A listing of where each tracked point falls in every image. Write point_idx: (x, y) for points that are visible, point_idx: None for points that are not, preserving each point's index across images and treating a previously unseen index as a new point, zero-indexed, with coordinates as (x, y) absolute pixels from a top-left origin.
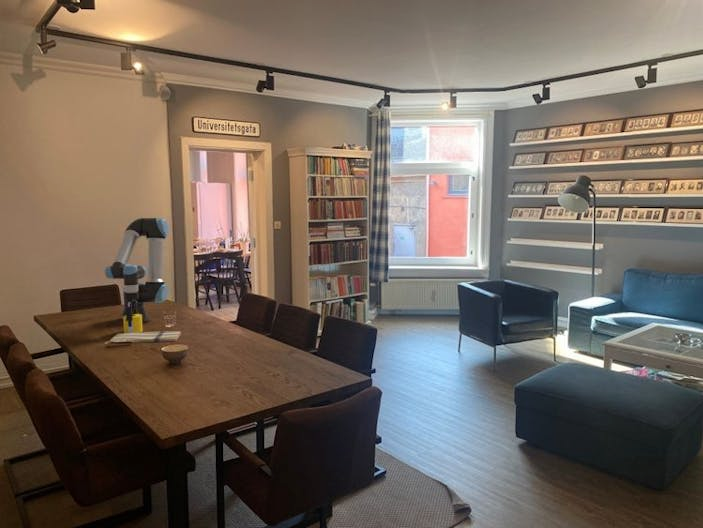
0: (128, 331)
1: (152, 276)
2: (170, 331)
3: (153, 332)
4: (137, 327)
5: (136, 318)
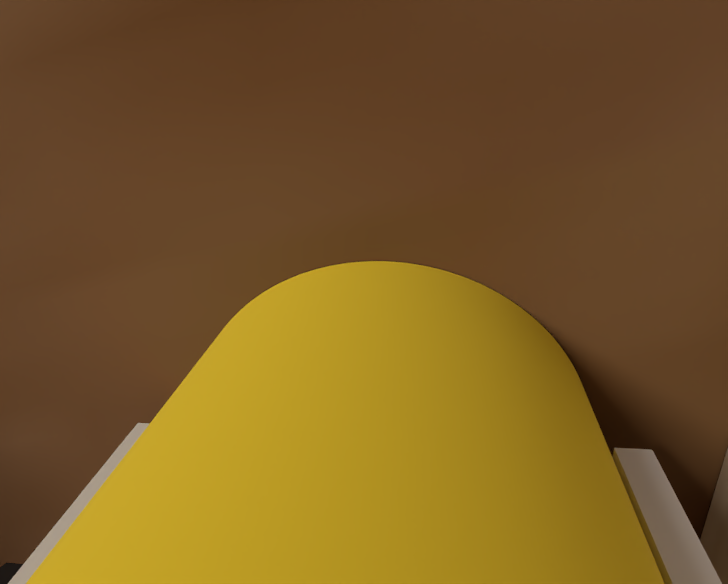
0: None
1: None
2: None
3: None
4: (588, 430)
5: None
